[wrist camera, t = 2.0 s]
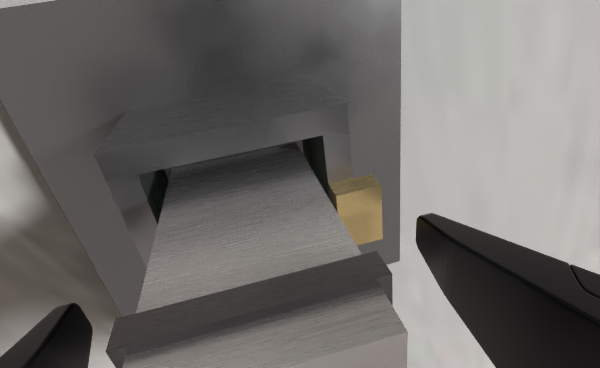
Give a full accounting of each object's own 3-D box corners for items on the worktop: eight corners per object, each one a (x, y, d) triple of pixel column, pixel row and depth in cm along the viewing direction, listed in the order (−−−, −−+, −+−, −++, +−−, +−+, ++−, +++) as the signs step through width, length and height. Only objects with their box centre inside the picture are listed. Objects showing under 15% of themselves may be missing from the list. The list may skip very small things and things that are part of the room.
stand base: (388, -47, 13) (503, -79, 8) (391, 249, 20) (452, 335, 15) (-27, 14, 11) (-230, 24, 6) (134, 316, 18) (104, 440, 13)
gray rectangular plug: (287, 114, 13) (421, 318, 5) (302, 209, 16) (414, 468, 7) (171, 137, 13) (86, 415, 4) (203, 232, 15) (190, 546, 6)
